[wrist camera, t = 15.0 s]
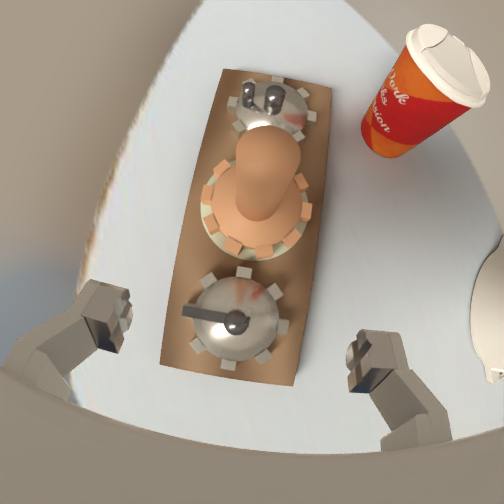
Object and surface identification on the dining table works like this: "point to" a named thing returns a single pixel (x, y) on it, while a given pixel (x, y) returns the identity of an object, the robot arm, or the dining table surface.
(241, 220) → the idler gear
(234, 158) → the gear board
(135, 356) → the dining table surface
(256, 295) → the gear
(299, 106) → the gear
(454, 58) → the paper cup
